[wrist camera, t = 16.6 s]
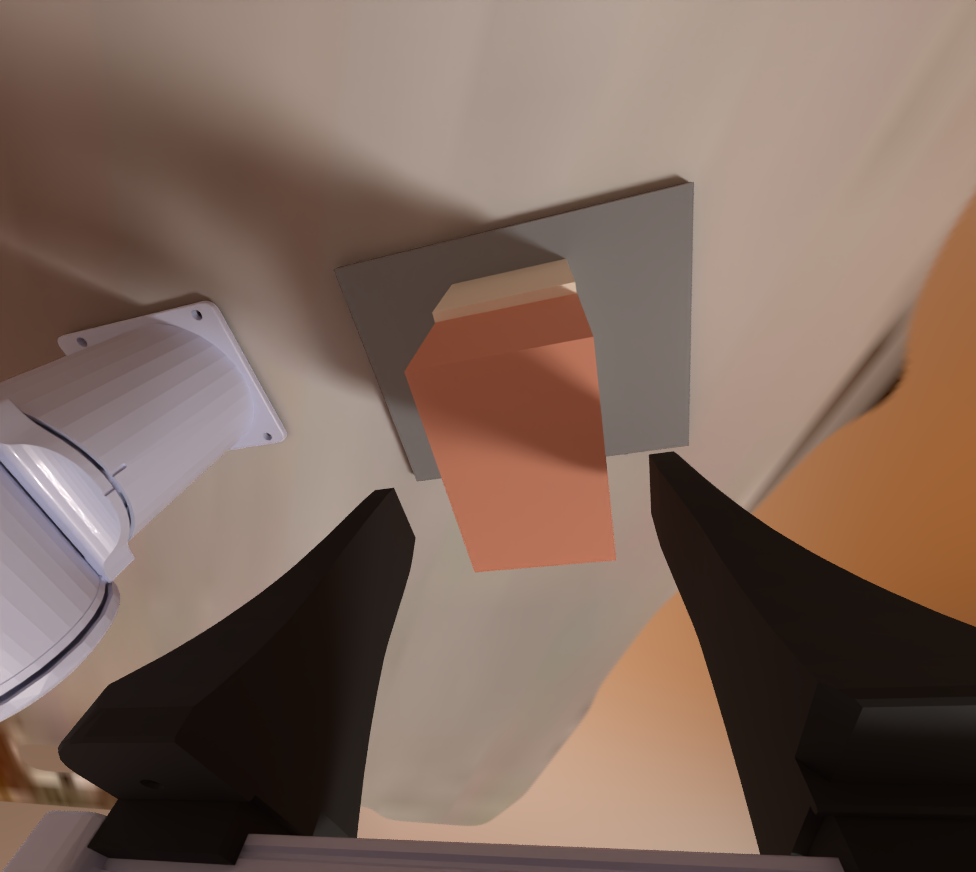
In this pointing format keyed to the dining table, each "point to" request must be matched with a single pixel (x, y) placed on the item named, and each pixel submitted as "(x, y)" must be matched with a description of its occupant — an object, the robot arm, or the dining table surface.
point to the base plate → (602, 292)
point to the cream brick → (506, 290)
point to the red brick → (518, 433)
